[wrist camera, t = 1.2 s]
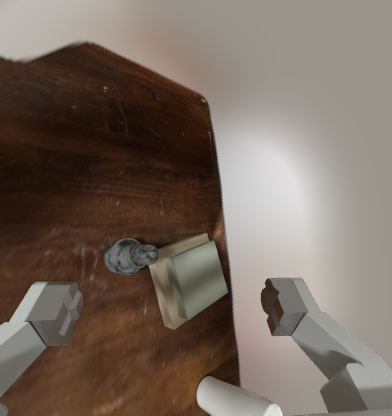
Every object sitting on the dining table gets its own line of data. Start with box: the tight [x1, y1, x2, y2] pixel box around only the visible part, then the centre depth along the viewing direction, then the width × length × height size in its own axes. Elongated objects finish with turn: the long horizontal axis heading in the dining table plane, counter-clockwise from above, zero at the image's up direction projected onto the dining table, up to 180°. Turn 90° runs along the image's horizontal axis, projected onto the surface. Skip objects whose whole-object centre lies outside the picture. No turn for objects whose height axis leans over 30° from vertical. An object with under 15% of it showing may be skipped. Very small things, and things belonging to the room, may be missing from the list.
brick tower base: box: [149, 233, 228, 329], centre depth 45 cm, size 14×14×6 cm
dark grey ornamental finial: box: [104, 238, 159, 275], centre depth 34 cm, size 6×6×12 cm
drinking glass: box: [197, 376, 283, 416], centre depth 40 cm, size 7×7×15 cm
